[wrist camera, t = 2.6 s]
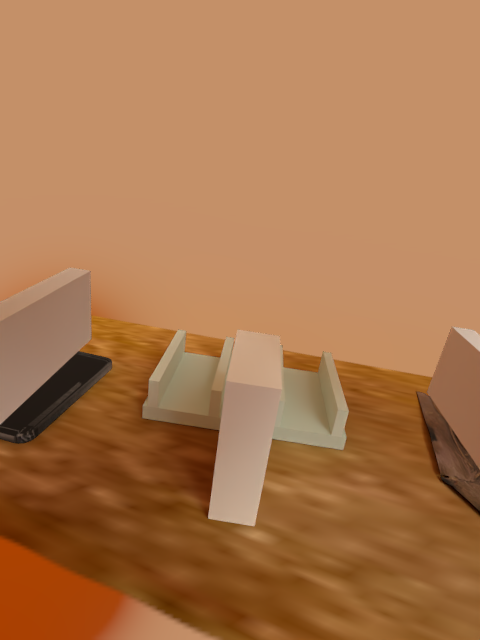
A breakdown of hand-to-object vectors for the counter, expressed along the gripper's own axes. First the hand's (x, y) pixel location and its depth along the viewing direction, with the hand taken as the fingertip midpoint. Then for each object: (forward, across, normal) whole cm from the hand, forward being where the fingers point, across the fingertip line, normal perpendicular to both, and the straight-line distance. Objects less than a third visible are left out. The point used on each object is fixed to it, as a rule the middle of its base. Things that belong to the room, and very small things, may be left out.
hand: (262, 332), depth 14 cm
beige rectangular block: (+12, 0, -19) cm, 22 cm away
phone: (+20, -21, -20) cm, 35 cm away
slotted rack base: (+24, 0, -19) cm, 30 cm away
